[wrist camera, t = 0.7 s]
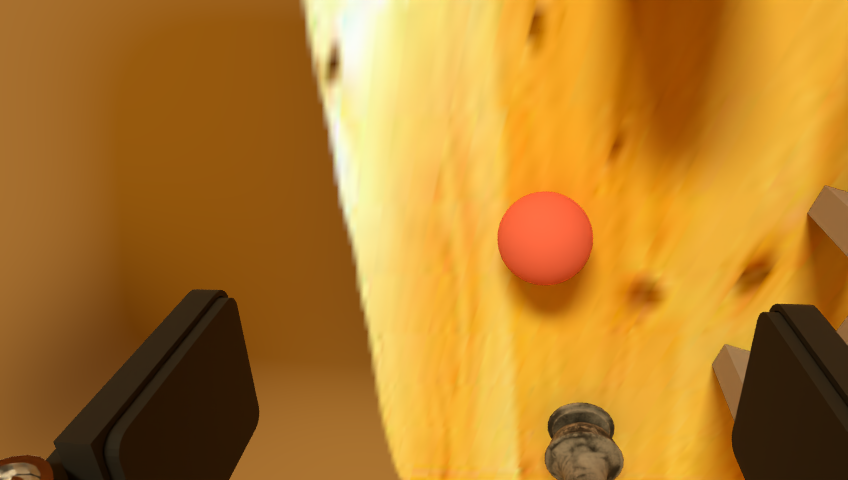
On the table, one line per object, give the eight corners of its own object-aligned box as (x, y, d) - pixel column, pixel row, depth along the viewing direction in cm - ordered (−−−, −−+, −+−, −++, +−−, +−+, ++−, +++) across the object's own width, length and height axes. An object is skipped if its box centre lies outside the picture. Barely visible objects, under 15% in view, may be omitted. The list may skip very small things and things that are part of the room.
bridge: (711, 364, 45) (752, 468, 37) (825, 185, 38) (908, 263, 30) (751, 376, 45) (801, 482, 37) (872, 199, 38) (969, 280, 29)
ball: (515, 166, 41) (512, 203, 35) (602, 192, 40) (613, 233, 35) (489, 242, 44) (483, 287, 38) (570, 266, 43) (575, 314, 38)
